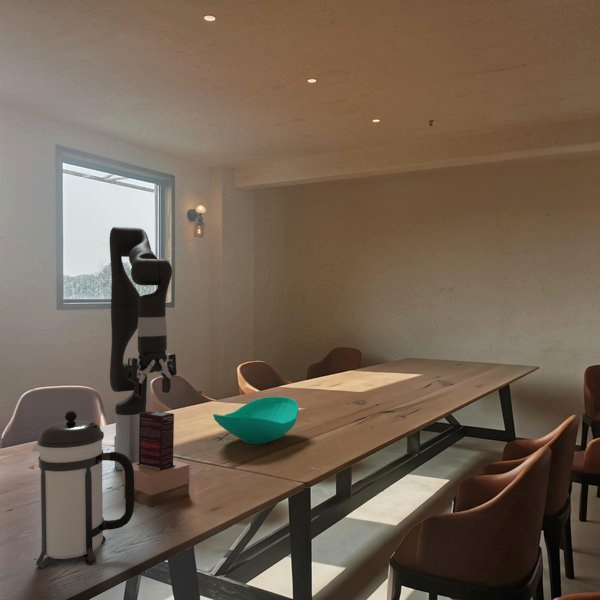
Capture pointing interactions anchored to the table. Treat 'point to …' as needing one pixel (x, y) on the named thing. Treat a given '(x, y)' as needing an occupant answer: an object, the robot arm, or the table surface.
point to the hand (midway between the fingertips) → (152, 394)
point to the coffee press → (76, 490)
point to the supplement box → (156, 440)
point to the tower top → (159, 478)
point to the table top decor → (261, 419)
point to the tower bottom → (160, 496)
